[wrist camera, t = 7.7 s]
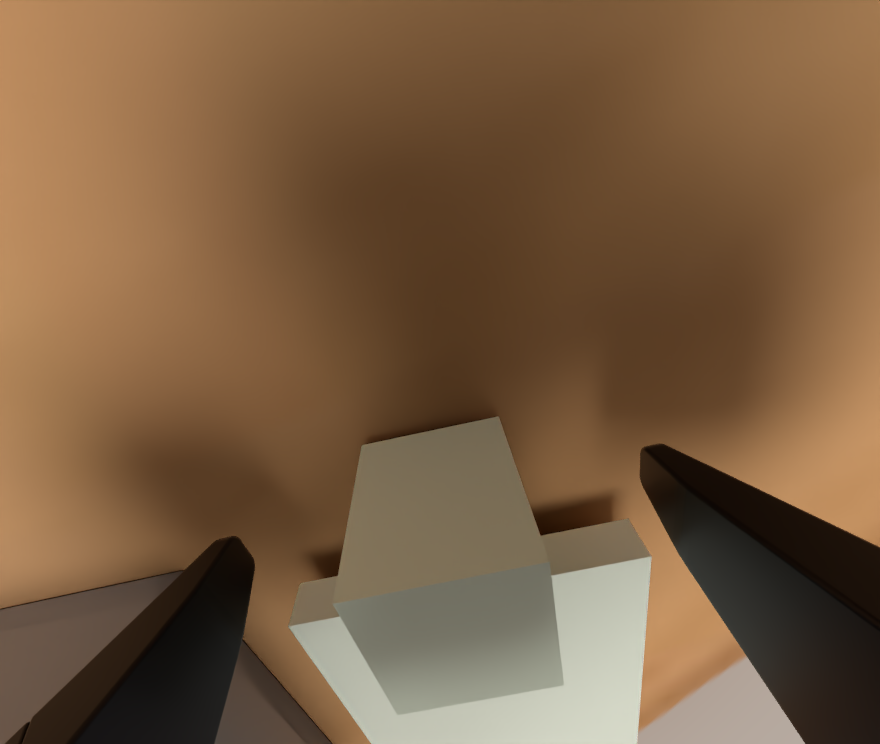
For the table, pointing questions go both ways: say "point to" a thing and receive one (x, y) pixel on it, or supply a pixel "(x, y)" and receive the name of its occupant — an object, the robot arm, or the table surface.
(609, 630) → the cube on cream block
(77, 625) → the tub
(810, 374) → the table surface
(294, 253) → the table surface
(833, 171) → the table surface
